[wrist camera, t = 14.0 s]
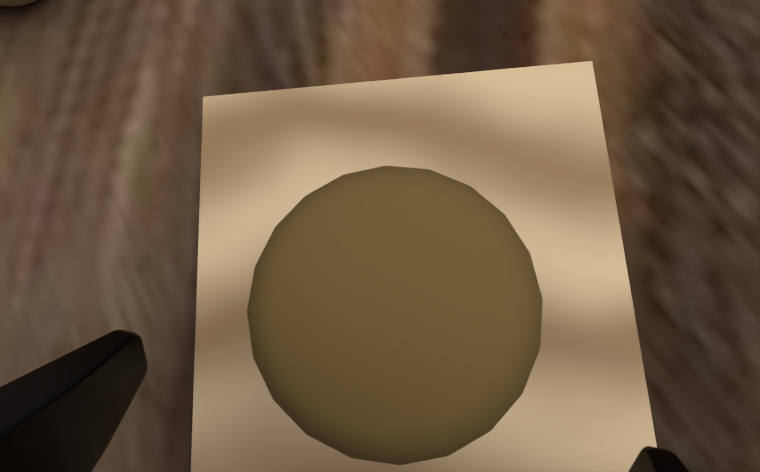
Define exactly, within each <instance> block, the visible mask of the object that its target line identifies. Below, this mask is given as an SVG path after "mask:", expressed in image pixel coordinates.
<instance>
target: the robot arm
mask: <svg viewBox="0 0 760 472" xmlns="http://www.w3.org/2000/svg"><path fill="white" fill-rule="evenodd" d="M146 372H147V359H146V355H145V351H144V346H143V342H142V338H141V336H140V335H139V334H137V333H134V332H130V331H125V330H115V331H113V332H110V333H108V334H106V335H104V336H102V337H100V338H98V339H96V340H94V341H92V342H90V343H88V344H86V345H84V346H82V347H80V348H78V349H76V350H74V351H72V352H70V353H68V354H66V355H64V356H62V357H60V358H58V359H56V360H54V361H52V362H50V363H48V364H46V365H44V366H42V367H40V368H38V369H36V370H34V371H32V372H30V373H28V374H26V375H24V376H22V377H20V378H18V379H16V380H14V381H12V382H10V383H8V384H6V385H4V386H2V387H0V472H91V471H92V470H93V468H94V467H95V465H96V464H97V462H98V461H99V459H100V458H101V456H102V454H103V453H104V451H105V450H106V448H107V446H108V444H109V443H110V441H111V439H112V437H113V435H114V434H115V432H116V430H117V428H118V426H119V424H120V422H121V420H122V419H123V417H124V415H125V413H126V411H127V409H128V407H129V406H130V404H131V402H132V400H133V398H134V396H135V394H136V392H137V391H138V389H139V387H140V385H141V383H142V381H143V379H144V377H145V375H146ZM628 472H689V470H688V469H687V468H686V467H685V466H684V464H683V463H682V462H681V461H680V459H679V458H678V457H677V456H676V455H675V454H674V453H673V452H671V451H669V450H665V449H660V448H656V447H651V446H646V447H644V448H642V450H641V451H640V453H639V454H638V456H637V458H636V459H635V461H634V463H633V464H632V466H631V468H630V469H629V471H628Z"/></svg>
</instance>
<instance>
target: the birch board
mask: <svg viewBox="0 0 760 472" xmlns="http://www.w3.org/2000/svg"><path fill="white" fill-rule="evenodd" d="M381 166H397V167H409V168H421V169H430V170H432V171H435V172H437V173H440V174H442V175H445V176H447V177H450V178H452V179H455V180H457V181H460V182H462V183H464V184H467V185H469V186H471V187H472V188H473V189H475V190H476V191H477V192H478V193H479V194H481V195H482V196H483V197H484V198H486V199H487V200H488V201H489V202H490V203H492V204H493V205H494V206H495V207H497V208H498V209H499V210H500V211H501V212H503V213H504V214H505V215H506V217H507V218H508V220H509V222H510V223H511V225H512V226H513V228H514V229H515V231H516V232H517V234H518V235H519V237H520V238H521V240H522V241H523V243H524V244H525V246H526V248H527V249H528V251H529V252H530V255H531V259H532V262H533V266H534V270H535V273H536V277H537V281H538V284H539V288H540V292H541V295H542V300H543V303H542V323H541V343H540V350H539V353H538V355H537V358H536V361H535V363H534V366H533V368H532V371H531V373H530V376H529V378H528V381H527V384H526V386H525V389H524V391H523V394H522V395H521V396H520V397H519V398H518V400H517V401H516V402H515V403H514V404H513V406H512V407H511V408H510V409H509V410H508V411H507V413H506V414H505V415H504V416H503V417H502V418H501V420H500V421H499V422H498V423H497V424H496V426H495V427H494V428H493V429H492V430H491V431H490V432H488V433H487V434H485V435H483V436H482V437H480V438H478V439H476V440H475V441H473V442H471V443H470V444H468V445H466V446H465V447H463V448H461V449H459V450H458V451H456V452H454V453H453V454H451V455H449V456H446V457H441V458H436V459H430V460H425V461H420V462H415V463H410V464H405V465H394V464H387V463H381V462H374V461H367V460H360V459H353V458H350V457H348V456H346V455H345V454H343V453H341V452H339V451H337V450H335V449H333V448H331V447H329V446H327V445H325V444H323V443H321V442H320V441H318V440H316V439H314V438H312V437H310V436H308V435H306V434H305V433H304V432H303V431H302V430H301V428H300V427H299V426H298V425H297V424H296V423H295V422H294V421H293V420H292V419H291V418H290V417H289V416H288V415H287V414H286V413H285V412H284V411H283V410H282V409H281V408H280V407H279V405H278V404H277V403H276V402H275V401H274V400H273V398H272V396H271V394H270V392H269V390H268V388H267V386H266V384H265V382H264V379H263V377H262V375H261V373H260V371H259V369H258V367H257V365H256V363H255V361H254V358H253V354H252V346H251V339H250V331H249V324H248V316H247V308H248V302H249V297H250V291H251V285H252V279H253V274H254V268H255V265H256V263H257V261H258V259H259V257H260V255H261V254H262V252H263V250H264V248H265V246H266V244H267V242H268V240H269V238H270V236H271V234H272V232H273V230H274V228H275V227H276V226H277V225H278V224H279V223H280V221H281V220H282V219H283V218H284V217H285V216H286V215H287V214H288V213H289V212H290V211H291V210H292V209H293V208H294V207H295V206H296V205H297V204H298V203H299V202H300V201H301V200H302V199H303V198H304V197H305V196H306V195H308V194H309V193H311V192H313V191H315V190H317V189H318V188H320V187H322V186H324V185H326V184H327V183H329V182H331V181H333V180H335V179H336V178H338V177H340V176H342V175H344V174H349V173H353V172H358V171H363V170H367V169H372V168H376V167H381ZM646 446H651V447H656V448H657V445H656V439H655V433H654V427H653V421H652V415H651V409H650V403H649V397H648V391H647V385H646V379H645V374H644V368H643V362H642V356H641V350H640V344H639V338H638V332H637V326H636V320H635V314H634V308H633V302H632V296H631V290H630V284H629V278H628V272H627V266H626V260H625V254H624V248H623V242H622V236H621V230H620V225H619V219H618V213H617V207H616V201H615V195H614V189H613V183H612V177H611V171H610V165H609V159H608V153H607V147H606V141H605V135H604V129H603V123H602V117H601V111H600V105H599V99H598V93H597V87H596V82H595V76H594V70H593V64H592V61H587V62H576V63H565V64H555V65H544V66H533V67H522V68H511V69H500V70H490V71H479V72H468V73H457V74H446V75H435V76H424V77H414V78H403V79H392V80H381V81H370V82H359V83H348V84H338V85H327V86H316V87H305V88H294V89H283V90H273V91H262V92H251V93H240V94H229V95H218V96H207V97H203V119H202V149H201V179H200V210H199V240H198V270H197V301H196V331H195V361H194V392H193V422H192V452H191V472H628V471H629V469H630V468H631V466H632V464H633V463H634V461H635V459H636V458H637V456H638V454H639V453H640V451H641V450H642V448H644V447H646Z"/></svg>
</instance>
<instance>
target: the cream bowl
mask: <svg viewBox="0 0 760 472" xmlns="http://www.w3.org/2000/svg"><path fill="white" fill-rule="evenodd" d="M35 1H37V0H0V5H1V6H22V5H26V4H29V3H32V2H35Z"/></svg>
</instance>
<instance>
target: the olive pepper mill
mask: <svg viewBox="0 0 760 472" xmlns="http://www.w3.org/2000/svg"><path fill="white" fill-rule="evenodd" d="M542 303H543V300H542V295H541V292H540V288H539V284H538V281H537V277H536V273H535V270H534V266H533V262H532V259H531V255H530V252H529V251H528V249H527V248H526V246H525V244H524V243H523V241H522V240H521V238H520V237H519V235H518V234H517V232H516V231H515V229H514V228H513V226H512V225H511V223H510V222H509V220H508V218H507V217H506V215H505V214H504V213H503V212H501V211H500V210H499V209H498V208H497V207H495V206H494V205H493V204H492V203H490V202H489V201H488V200H487V199H486V198H484V197H483V196H482V195H481V194H479V193H478V192H477V191H476V190H475V189H473V188H472V187H471V186H469V185H467V184H464V183H462V182H460V181H457V180H455V179H452V178H450V177H447V176H445V175H442V174H440V173H437V172H435V171H432V170H430V169H421V168H409V167H397V166H381V167H376V168H372V169H367V170H363V171H358V172H353V173H349V174H344V175H342V176H340V177H338V178H336V179H335V180H333V181H331V182H329V183H327V184H326V185H324V186H322V187H320V188H318V189H317V190H315V191H313V192H311V193H309V194H308V195H306V196H305V197H304V198H303V199H302V200H301V201H300V202H299V203H298V204H297V205H296V206H295V207H294V208H293V209H292V210H291V211H290V212H289V213H288V214H287V215H286V216H285V217H284V218H283V219H282V220H281V221H280V223H279V224H278V225H277V226H276V227H275V228H274V230H273V232H272V234H271V236H270V238H269V240H268V242H267V244H266V246H265V248H264V250H263V252H262V254H261V255H260V257H259V259H258V261H257V263H256V265H255V268H254V274H253V279H252V285H251V291H250V297H249V302H248V308H247V316H248V324H249V331H250V339H251V346H252V354H253V358H254V361H255V363H256V365H257V367H258V369H259V371H260V373H261V375H262V377H263V379H264V382H265V384H266V386H267V388H268V390H269V392H270V394H271V396H272V398H273V400H274V401H275V402H276V403H277V404H278V405H279V407H280V408H281V409H282V410H283V411H284V412H285V413H286V414H287V415H288V416H289V417H290V418H291V419H292V420H293V421H294V422H295V423H296V424H297V425H298V426H299V427H300V428H301V430H302V431H303V432H304V433H305V434H306V435H308V436H310V437H312V438H314V439H316V440H318V441H320V442H321V443H323V444H325V445H327V446H329V447H331V448H333V449H335V450H337V451H339V452H341V453H343V454H345V455H346V456H348V457H350V458H353V459H360V460H367V461H374V462H381V463H387V464H394V465H405V464H410V463H415V462H420V461H425V460H430V459H436V458H441V457H446V456H449V455H451V454H453V453H454V452H456V451H458V450H459V449H461V448H463V447H465V446H466V445H468V444H470V443H471V442H473V441H475V440H476V439H478V438H480V437H482V436H483V435H485V434H487V433H488V432H490V431H491V430H492V429H493V428H494V427H495V426H496V424H497V423H498V422H499V421H500V420H501V418H502V417H503V416H504V415H505V414H506V413H507V411H508V410H509V409H510V408H511V407H512V406H513V404H514V403H515V402H516V401H517V400H518V398H519V397H520V396H521V395H522V394H523V391H524V389H525V386H526V384H527V381H528V378H529V376H530V373H531V371H532V368H533V366H534V363H535V361H536V358H537V355H538V353H539V350H540V343H541V323H542Z"/></svg>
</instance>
